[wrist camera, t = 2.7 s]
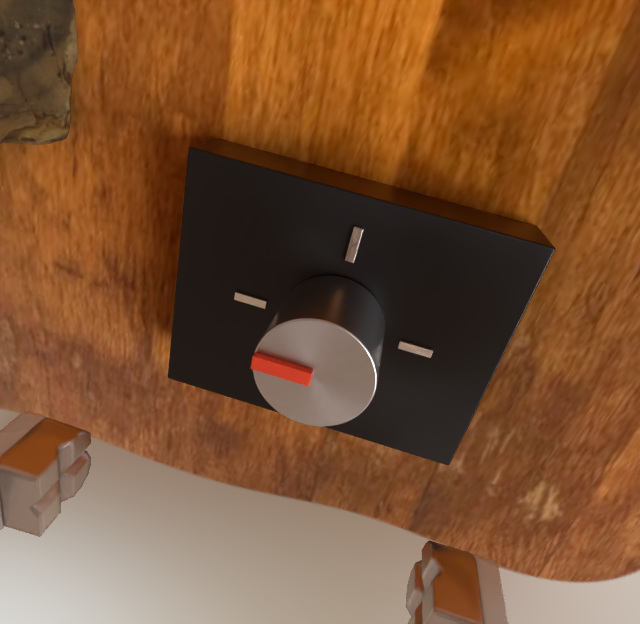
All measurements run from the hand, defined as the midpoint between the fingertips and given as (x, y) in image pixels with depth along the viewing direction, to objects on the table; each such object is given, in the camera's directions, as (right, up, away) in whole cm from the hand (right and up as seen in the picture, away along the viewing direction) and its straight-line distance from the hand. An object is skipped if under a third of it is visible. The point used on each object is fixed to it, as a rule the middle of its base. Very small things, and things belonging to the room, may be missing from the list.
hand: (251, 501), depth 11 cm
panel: (+3, +5, +12) cm, 13 cm away
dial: (+2, +4, +9) cm, 10 cm away
